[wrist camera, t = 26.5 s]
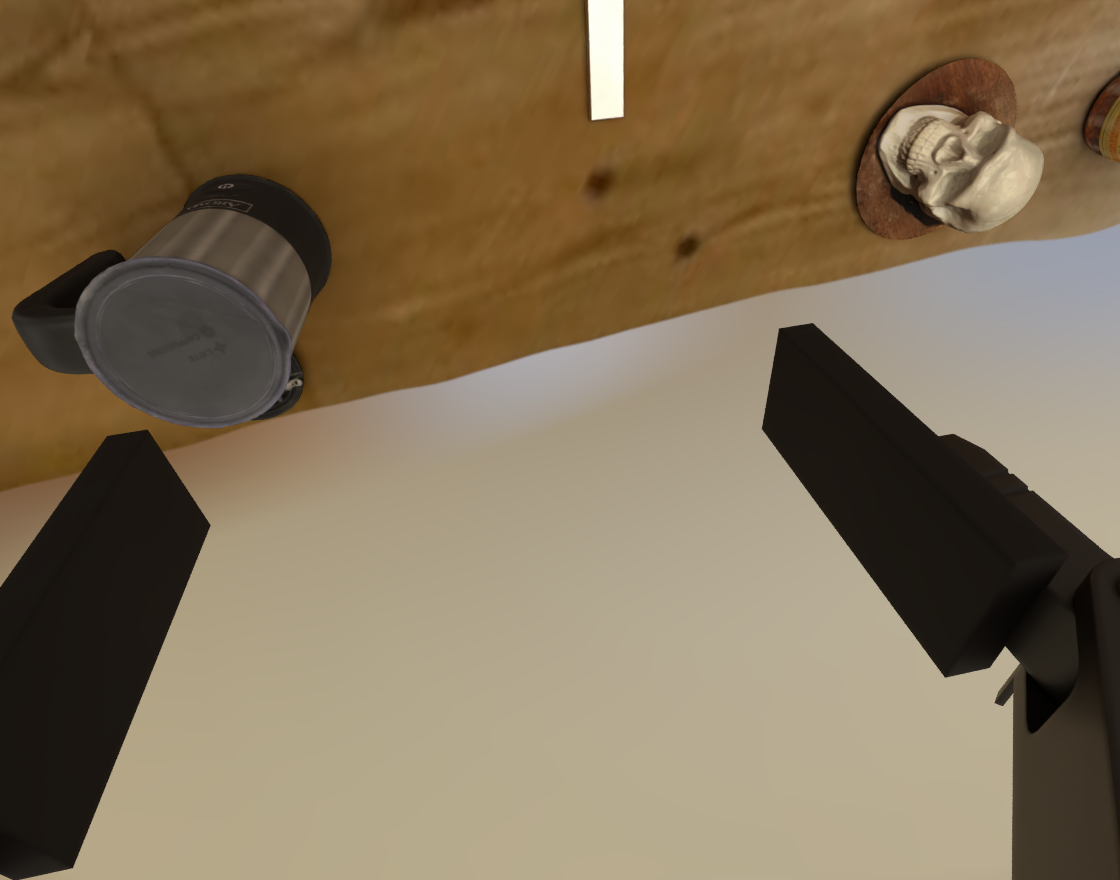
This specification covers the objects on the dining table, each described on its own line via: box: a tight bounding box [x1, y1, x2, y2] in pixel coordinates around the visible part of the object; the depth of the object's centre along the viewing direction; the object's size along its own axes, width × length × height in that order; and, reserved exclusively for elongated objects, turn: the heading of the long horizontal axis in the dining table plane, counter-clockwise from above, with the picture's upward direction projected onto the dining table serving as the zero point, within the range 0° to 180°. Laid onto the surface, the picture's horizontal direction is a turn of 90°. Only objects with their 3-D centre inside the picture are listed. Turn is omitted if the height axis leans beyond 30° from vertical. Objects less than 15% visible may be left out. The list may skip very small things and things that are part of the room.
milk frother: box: [11, 175, 331, 428], centre depth 36 cm, size 14×16×15 cm
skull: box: [856, 59, 1044, 240], centre depth 42 cm, size 12×10×10 cm
